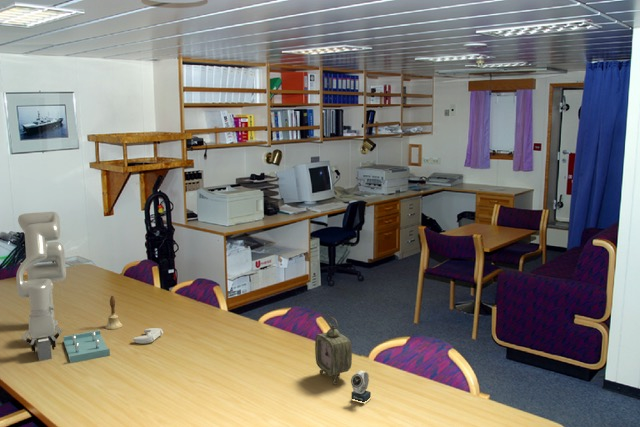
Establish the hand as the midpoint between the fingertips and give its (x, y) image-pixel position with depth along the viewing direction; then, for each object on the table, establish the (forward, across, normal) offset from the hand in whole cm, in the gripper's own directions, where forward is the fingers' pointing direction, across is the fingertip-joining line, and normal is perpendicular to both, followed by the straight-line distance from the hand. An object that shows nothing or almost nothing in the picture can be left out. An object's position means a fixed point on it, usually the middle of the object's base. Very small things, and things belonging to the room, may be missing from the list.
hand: (43, 350), depth 252 cm
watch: (+3, -98, +104) cm, 143 cm away
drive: (+2, 0, 0) cm, 2 cm away
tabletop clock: (+3, -99, +83) cm, 129 cm away
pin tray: (+2, -17, +2) cm, 17 cm away
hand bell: (+3, -33, -21) cm, 39 cm away
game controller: (+3, -44, +5) cm, 45 cm away
